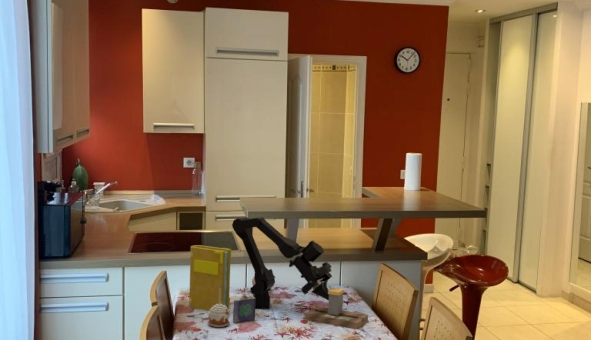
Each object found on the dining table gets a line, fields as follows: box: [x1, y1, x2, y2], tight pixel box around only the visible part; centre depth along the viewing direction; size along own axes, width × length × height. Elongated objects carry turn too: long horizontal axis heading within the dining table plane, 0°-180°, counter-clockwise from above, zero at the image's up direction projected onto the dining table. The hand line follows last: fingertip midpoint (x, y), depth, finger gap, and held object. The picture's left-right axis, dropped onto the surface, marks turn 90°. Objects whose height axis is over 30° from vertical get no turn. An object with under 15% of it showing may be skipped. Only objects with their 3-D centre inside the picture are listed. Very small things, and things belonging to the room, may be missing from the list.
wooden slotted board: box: [304, 305, 369, 330], centre depth 229 cm, size 22×12×3 cm, turn 64°
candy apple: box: [207, 286, 231, 328], centre depth 218 cm, size 8×8×15 cm
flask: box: [232, 293, 256, 324], centre depth 223 cm, size 9×3×11 cm, turn 121°
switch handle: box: [327, 287, 345, 316], centre depth 229 cm, size 5×6×11 cm
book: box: [188, 244, 232, 312], centre depth 238 cm, size 17×7×25 cm, turn 65°
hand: (330, 299), depth 230 cm, fingers closed, pressing on switch handle
